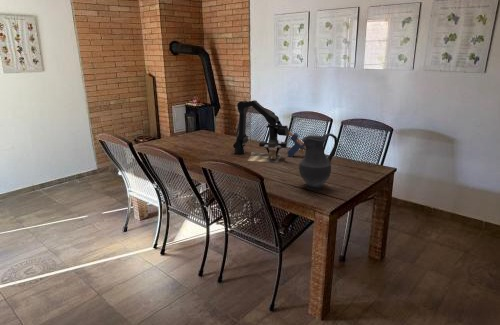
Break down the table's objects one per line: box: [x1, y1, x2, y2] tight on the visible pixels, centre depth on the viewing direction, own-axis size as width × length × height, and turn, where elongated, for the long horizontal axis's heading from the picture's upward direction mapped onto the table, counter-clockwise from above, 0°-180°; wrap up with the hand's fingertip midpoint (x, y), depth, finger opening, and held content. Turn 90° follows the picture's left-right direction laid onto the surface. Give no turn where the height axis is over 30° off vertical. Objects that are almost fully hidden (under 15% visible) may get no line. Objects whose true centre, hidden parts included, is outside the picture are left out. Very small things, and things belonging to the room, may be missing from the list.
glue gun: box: [287, 131, 306, 158], centre depth 246 cm, size 6×31×15 cm
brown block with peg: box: [269, 148, 277, 159], centre depth 236 cm, size 4×10×5 cm, turn 168°
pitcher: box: [298, 132, 339, 191], centre depth 187 cm, size 17×21×30 cm
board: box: [247, 152, 281, 164], centre depth 239 cm, size 21×14×4 cm, turn 78°
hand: (272, 156), depth 238 cm, fingers closed on brown block with peg, 4 cm apart
